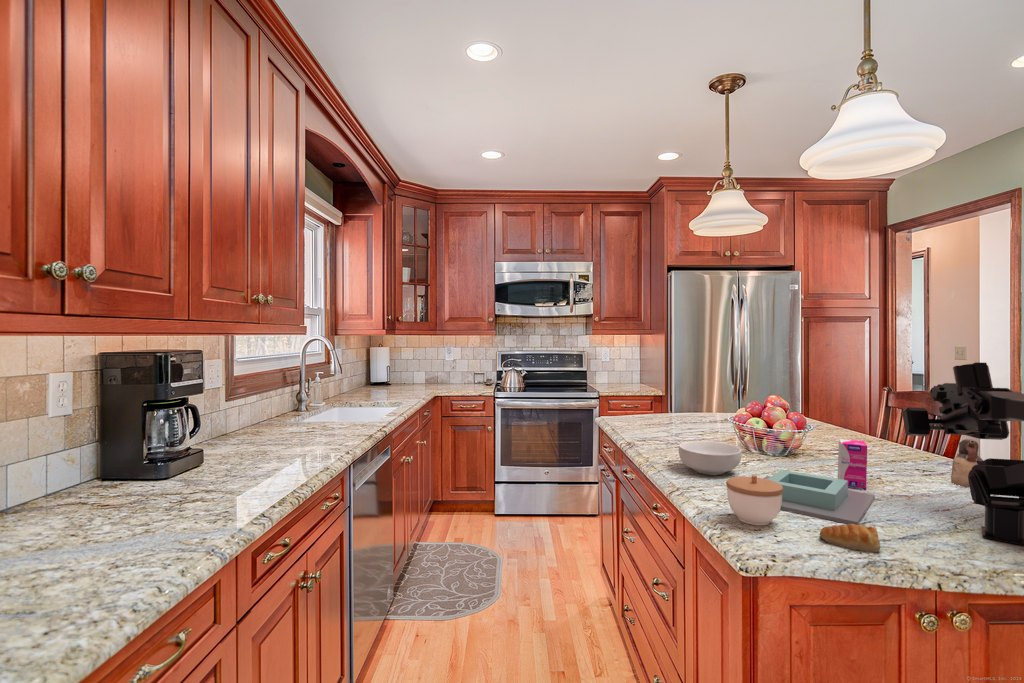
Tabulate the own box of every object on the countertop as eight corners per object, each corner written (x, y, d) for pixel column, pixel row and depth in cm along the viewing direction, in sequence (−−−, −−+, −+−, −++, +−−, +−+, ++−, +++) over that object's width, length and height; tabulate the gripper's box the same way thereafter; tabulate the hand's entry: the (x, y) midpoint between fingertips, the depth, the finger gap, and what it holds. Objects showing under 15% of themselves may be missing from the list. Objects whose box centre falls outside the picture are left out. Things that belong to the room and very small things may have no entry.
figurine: (985, 484, 135) (986, 438, 134) (989, 490, 129) (990, 443, 129) (949, 479, 139) (950, 435, 139) (952, 485, 133) (952, 439, 133)
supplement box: (839, 487, 132) (840, 442, 131) (837, 481, 137) (838, 438, 137) (866, 490, 129) (867, 444, 129) (863, 484, 134) (864, 440, 134)
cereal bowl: (671, 463, 155) (671, 440, 155) (727, 464, 155) (727, 440, 154) (688, 479, 138) (688, 453, 138) (751, 480, 138) (751, 454, 138)
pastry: (822, 546, 95) (822, 526, 95) (817, 534, 102) (817, 514, 102) (883, 555, 92) (883, 534, 92) (874, 541, 98) (874, 521, 98)
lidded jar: (742, 530, 103) (742, 483, 102) (717, 511, 113) (717, 469, 113) (794, 529, 103) (794, 482, 103) (764, 510, 114) (764, 468, 114)
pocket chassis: (874, 498, 123) (875, 480, 123) (857, 526, 105) (857, 505, 105) (766, 478, 139) (767, 462, 139) (735, 500, 121) (736, 481, 121)
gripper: (1017, 381, 110) (975, 398, 124) (914, 378, 115) (885, 395, 129) (1029, 433, 106) (984, 445, 120) (922, 428, 111) (892, 440, 125)
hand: (935, 429), depth 124 cm, fingers open, 9 cm apart
